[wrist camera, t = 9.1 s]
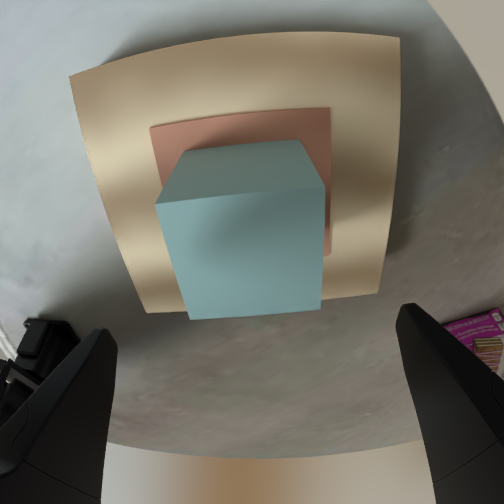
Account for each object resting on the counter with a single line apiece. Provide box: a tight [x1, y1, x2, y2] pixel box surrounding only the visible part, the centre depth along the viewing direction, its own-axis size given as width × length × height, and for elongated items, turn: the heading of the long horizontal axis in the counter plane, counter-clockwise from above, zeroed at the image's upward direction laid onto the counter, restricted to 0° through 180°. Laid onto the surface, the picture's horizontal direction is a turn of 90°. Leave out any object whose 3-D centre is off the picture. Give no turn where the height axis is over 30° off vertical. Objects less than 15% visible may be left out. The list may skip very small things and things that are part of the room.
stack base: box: [69, 32, 401, 313], centre depth 17 cm, size 16×16×3 cm
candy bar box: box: [442, 308, 504, 380], centre depth 22 cm, size 11×5×16 cm, turn 100°
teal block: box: [155, 139, 325, 320], centre depth 14 cm, size 6×6×6 cm
